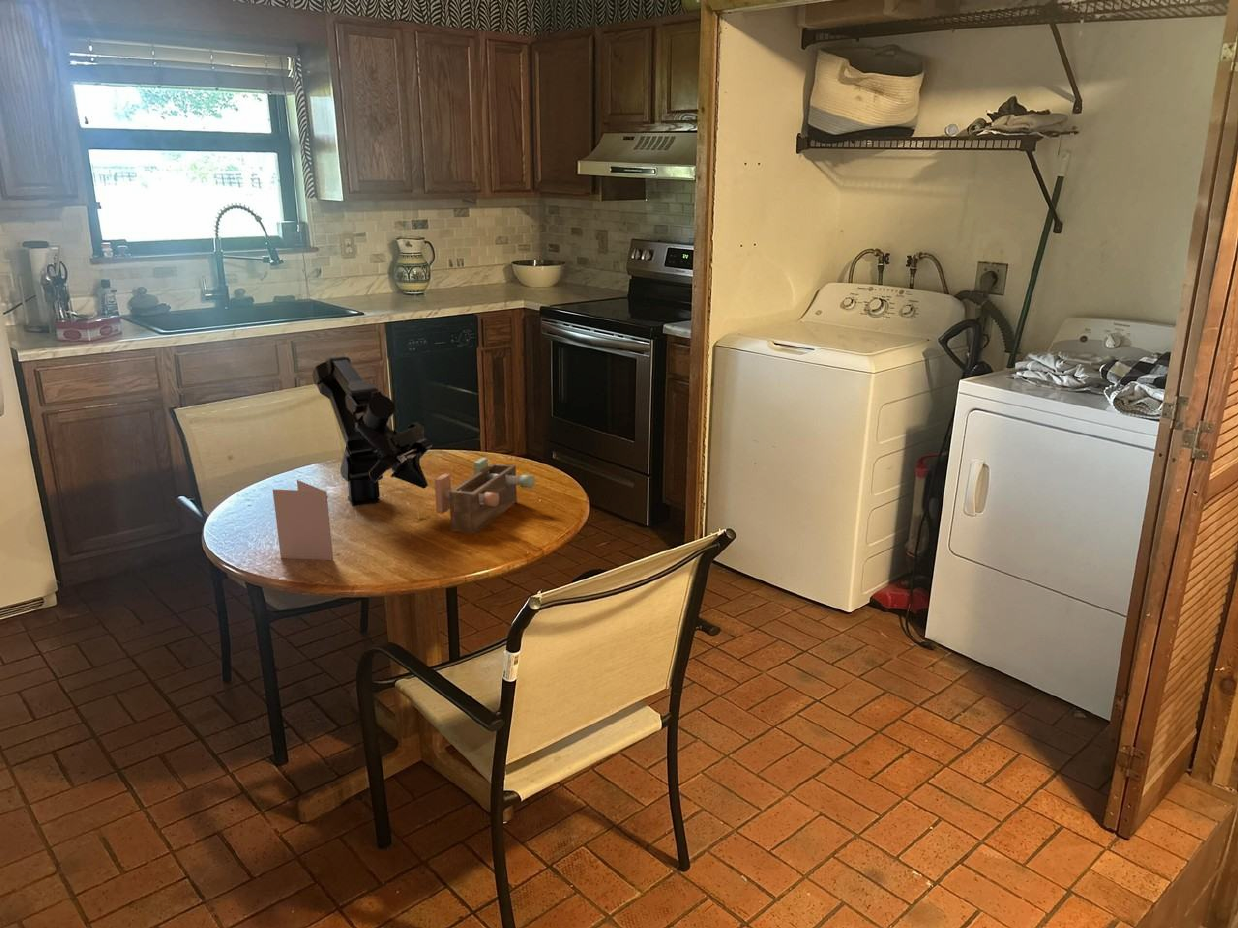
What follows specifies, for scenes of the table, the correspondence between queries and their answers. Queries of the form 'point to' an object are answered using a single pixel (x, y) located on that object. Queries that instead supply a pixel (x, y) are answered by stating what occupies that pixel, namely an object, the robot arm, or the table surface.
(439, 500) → the pink block with rod
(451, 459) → the table surface
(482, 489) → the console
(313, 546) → the greeting card
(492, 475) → the sage button
